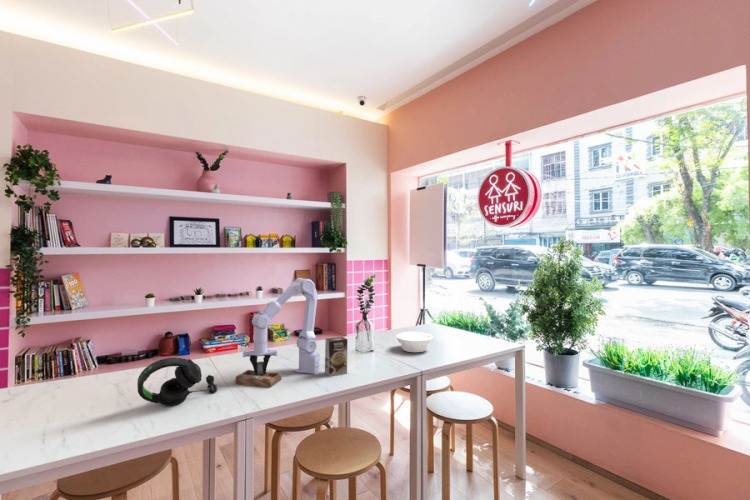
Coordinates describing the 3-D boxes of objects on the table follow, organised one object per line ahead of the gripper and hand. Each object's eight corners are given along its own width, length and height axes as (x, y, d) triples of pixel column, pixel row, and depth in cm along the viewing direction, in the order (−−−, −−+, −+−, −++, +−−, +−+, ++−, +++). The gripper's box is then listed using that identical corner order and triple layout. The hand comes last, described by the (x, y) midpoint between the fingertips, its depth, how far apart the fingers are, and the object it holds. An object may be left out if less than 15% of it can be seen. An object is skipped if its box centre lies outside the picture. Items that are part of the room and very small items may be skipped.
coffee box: (329, 376, 157) (329, 341, 157) (324, 372, 163) (324, 338, 163) (347, 373, 161) (347, 339, 161) (342, 369, 167) (342, 336, 167)
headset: (203, 417, 136) (125, 404, 117) (199, 392, 146) (127, 376, 127) (232, 382, 136) (158, 363, 117) (226, 359, 146) (157, 338, 127)
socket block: (281, 379, 153) (281, 372, 153) (270, 387, 144) (270, 379, 144) (247, 376, 157) (248, 369, 157) (235, 383, 148) (235, 376, 148)
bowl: (388, 349, 201) (388, 335, 201) (412, 343, 215) (412, 330, 215) (416, 357, 186) (416, 342, 186) (439, 350, 200) (439, 336, 200)
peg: (264, 375, 154) (264, 361, 154) (263, 378, 151) (263, 363, 151) (257, 376, 153) (257, 361, 153) (255, 378, 150) (255, 363, 150)
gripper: (278, 338, 157) (278, 368, 157) (245, 339, 155) (245, 370, 155) (276, 342, 150) (276, 374, 150) (241, 343, 148) (241, 375, 148)
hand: (260, 372), depth 152 cm, fingers closed on peg, 3 cm apart
